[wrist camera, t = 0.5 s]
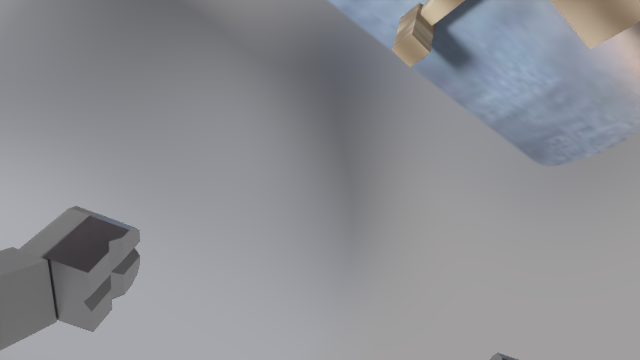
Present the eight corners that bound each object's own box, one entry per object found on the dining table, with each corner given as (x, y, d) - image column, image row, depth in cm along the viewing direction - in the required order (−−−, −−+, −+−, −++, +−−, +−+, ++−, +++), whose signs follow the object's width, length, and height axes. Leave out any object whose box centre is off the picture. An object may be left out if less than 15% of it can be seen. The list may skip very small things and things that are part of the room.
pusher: (486, -84, 49) (483, -55, 44) (532, -27, 51) (534, 6, 47) (386, 4, 58) (376, 35, 54) (430, 48, 61) (424, 81, 57)
